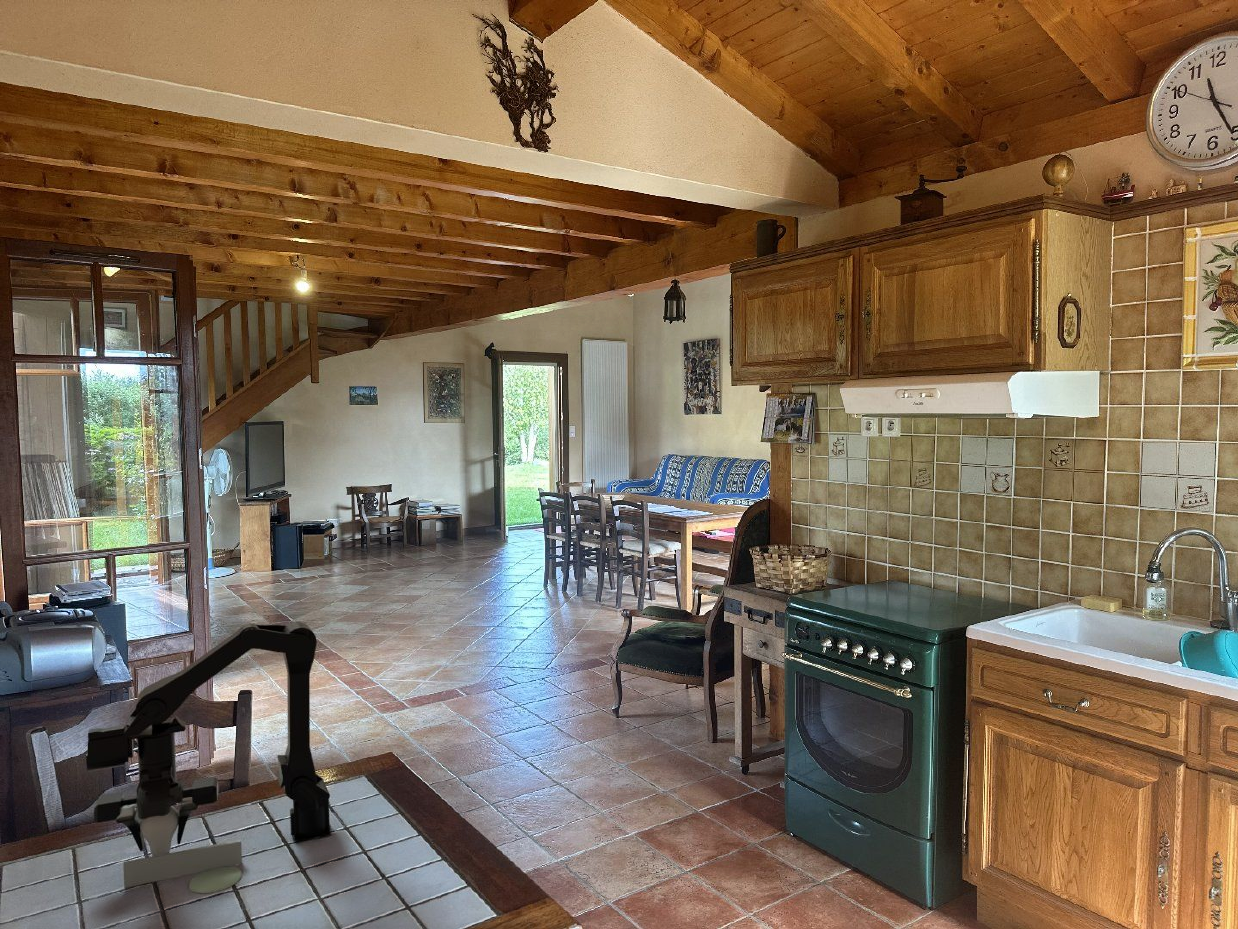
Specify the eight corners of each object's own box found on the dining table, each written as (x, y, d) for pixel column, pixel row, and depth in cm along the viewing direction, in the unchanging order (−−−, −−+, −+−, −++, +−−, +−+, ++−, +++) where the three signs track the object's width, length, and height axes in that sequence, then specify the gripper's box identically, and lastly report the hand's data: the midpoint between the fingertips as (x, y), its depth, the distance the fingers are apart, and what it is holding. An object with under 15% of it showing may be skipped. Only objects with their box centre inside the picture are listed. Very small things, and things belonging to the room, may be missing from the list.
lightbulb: (163, 877, 144) (161, 814, 144) (133, 874, 145) (130, 811, 145) (188, 859, 150) (186, 798, 150) (159, 857, 151) (156, 796, 151)
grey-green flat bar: (242, 861, 149) (241, 839, 148) (241, 863, 148) (241, 841, 148) (125, 885, 141) (124, 862, 141) (124, 887, 141) (123, 864, 141)
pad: (241, 864, 148) (241, 863, 148) (240, 886, 140) (240, 884, 140) (190, 875, 144) (190, 873, 144) (187, 898, 137) (187, 896, 137)
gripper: (85, 786, 136) (90, 881, 136) (213, 765, 143) (217, 856, 144) (98, 762, 146) (102, 850, 147) (216, 744, 153) (220, 828, 154)
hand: (160, 847), depth 147 cm, fingers closed on lightbulb, 5 cm apart
